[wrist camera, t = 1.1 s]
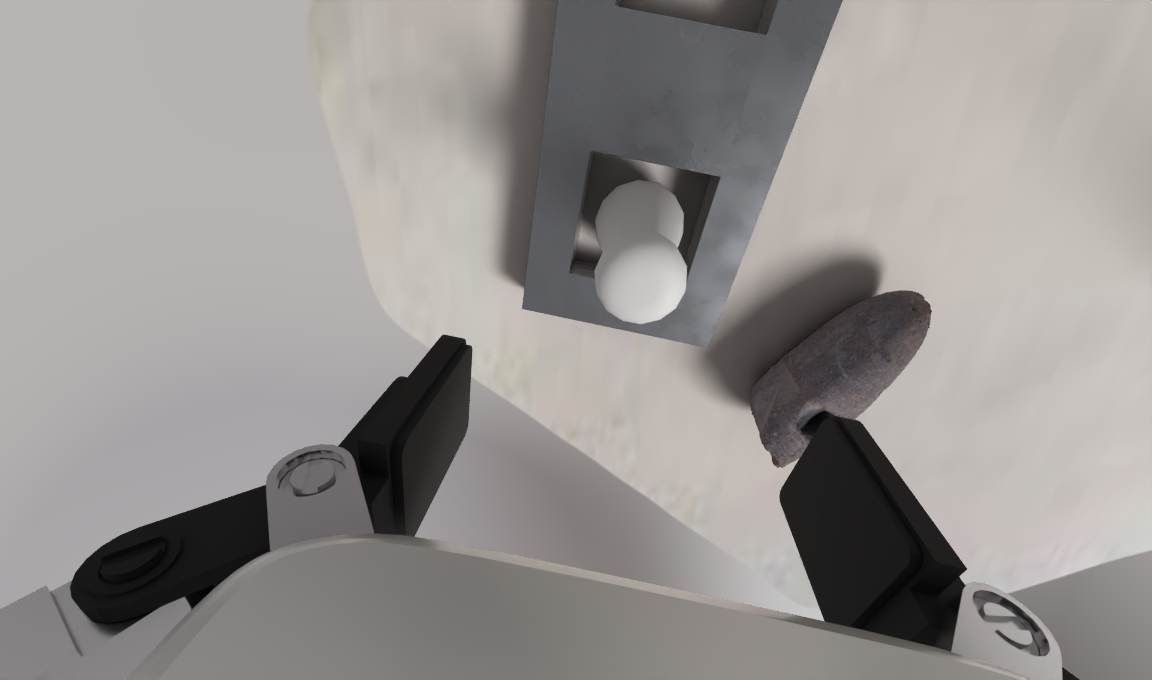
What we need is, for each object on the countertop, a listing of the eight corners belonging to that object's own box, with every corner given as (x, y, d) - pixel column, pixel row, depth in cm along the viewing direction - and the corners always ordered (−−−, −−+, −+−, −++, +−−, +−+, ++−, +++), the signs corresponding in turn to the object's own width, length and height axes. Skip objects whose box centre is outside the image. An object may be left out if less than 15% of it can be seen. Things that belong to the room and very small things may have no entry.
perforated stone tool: (874, 258, 29) (934, 299, 23) (924, 300, 30) (995, 349, 24) (720, 393, 37) (737, 451, 31) (765, 423, 37) (790, 485, 31)
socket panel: (920, -262, 18) (972, -328, 16) (702, 328, 34) (708, 349, 31) (606, -317, 19) (601, -392, 16) (530, 292, 34) (521, 310, 31)
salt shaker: (595, 177, 29) (569, 226, 18) (681, 170, 28) (710, 216, 17) (601, 259, 32) (582, 346, 21) (679, 255, 31) (703, 343, 20)
